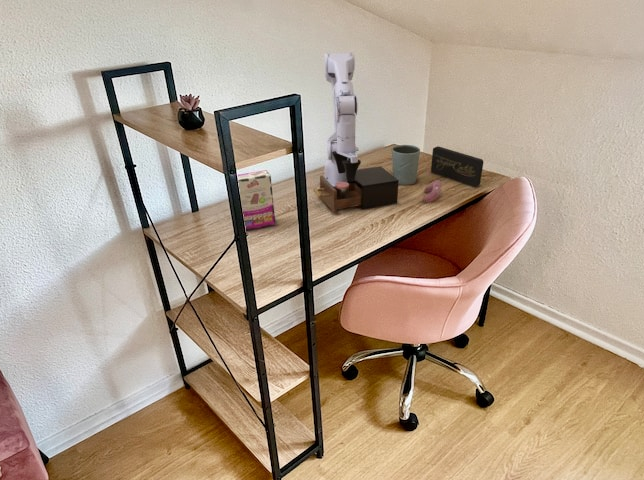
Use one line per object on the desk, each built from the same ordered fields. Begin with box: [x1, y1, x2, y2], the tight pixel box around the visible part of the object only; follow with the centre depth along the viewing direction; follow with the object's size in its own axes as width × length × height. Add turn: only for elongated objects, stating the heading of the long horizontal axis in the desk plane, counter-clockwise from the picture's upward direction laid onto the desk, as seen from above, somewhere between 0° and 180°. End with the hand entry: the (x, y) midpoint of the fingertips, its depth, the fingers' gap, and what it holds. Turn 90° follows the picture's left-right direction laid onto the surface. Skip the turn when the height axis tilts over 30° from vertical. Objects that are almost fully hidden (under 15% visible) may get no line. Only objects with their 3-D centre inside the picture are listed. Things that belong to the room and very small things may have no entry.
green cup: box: [391, 144, 421, 186], centre depth 179 cm, size 10×10×12 cm
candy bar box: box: [237, 169, 276, 231], centre depth 148 cm, size 11×5×16 cm, turn 114°
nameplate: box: [430, 145, 484, 188], centre depth 181 cm, size 21×2×10 cm, turn 43°
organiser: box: [347, 165, 399, 210], centre depth 167 cm, size 13×14×8 cm
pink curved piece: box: [422, 179, 443, 203], centre depth 168 cm, size 10×5×7 cm, turn 168°
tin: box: [335, 182, 349, 200], centre depth 163 cm, size 5×5×5 cm
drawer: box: [312, 175, 362, 215], centre depth 163 cm, size 16×14×8 cm
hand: (346, 177), depth 160 cm, fingers open, 7 cm apart
